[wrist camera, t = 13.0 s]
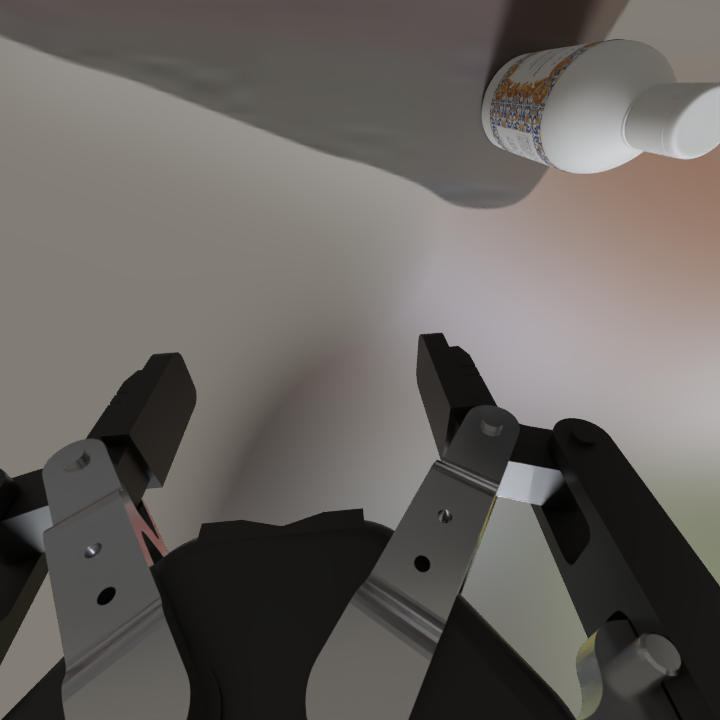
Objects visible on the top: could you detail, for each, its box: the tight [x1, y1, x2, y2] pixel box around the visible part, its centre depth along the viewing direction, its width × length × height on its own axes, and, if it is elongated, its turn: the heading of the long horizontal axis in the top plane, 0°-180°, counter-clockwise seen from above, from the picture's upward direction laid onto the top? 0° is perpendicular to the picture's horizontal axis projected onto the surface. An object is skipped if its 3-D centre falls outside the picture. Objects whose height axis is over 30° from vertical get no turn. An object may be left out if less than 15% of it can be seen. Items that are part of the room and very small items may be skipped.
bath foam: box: [482, 39, 720, 174], centre depth 24 cm, size 7×7×20 cm
